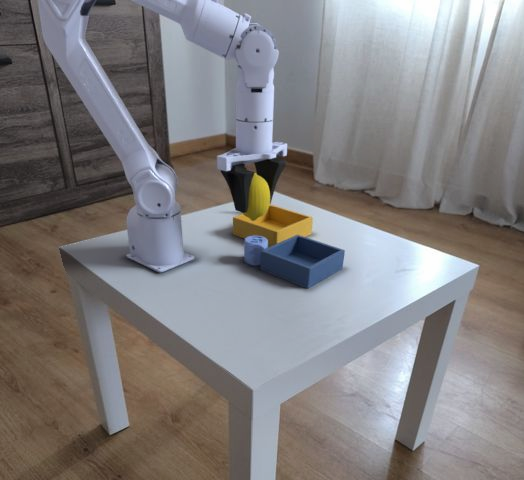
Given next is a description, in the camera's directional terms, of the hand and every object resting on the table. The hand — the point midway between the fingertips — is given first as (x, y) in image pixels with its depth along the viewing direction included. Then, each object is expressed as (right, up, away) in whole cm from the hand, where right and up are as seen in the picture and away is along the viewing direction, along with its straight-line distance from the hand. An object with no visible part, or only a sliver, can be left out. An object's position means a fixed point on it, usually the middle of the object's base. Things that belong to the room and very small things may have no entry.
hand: (253, 207), depth 82 cm
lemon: (0, -2, +1) cm, 3 cm away
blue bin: (+8, -10, +2) cm, 13 cm away
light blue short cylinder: (0, -8, +5) cm, 10 cm away
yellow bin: (+4, -1, +15) cm, 16 cm away
